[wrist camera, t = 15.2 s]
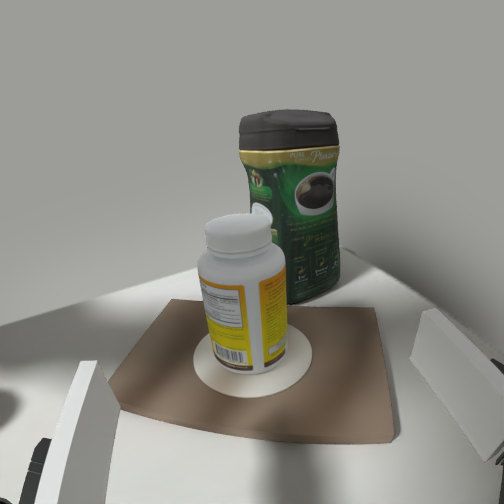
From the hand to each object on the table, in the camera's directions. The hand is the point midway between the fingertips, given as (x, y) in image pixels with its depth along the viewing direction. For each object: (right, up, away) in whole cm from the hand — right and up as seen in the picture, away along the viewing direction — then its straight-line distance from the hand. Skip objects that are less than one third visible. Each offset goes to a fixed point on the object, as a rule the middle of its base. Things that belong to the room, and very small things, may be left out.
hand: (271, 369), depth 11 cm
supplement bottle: (-1, -3, +12) cm, 12 cm away
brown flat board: (-1, -4, +12) cm, 13 cm away
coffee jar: (+4, +1, +23) cm, 24 cm away
